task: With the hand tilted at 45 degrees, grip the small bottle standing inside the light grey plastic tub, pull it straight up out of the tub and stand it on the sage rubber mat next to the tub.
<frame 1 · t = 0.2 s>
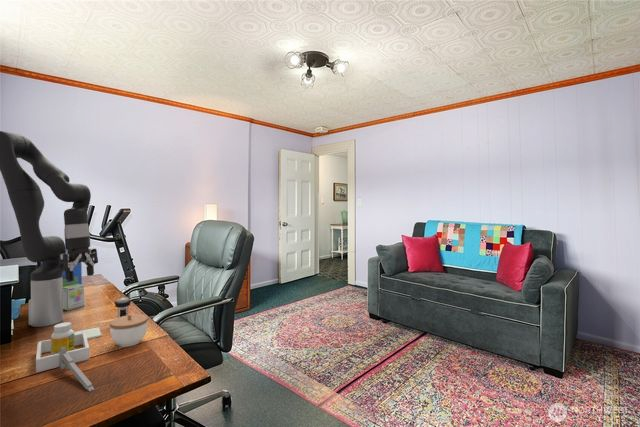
hand: (80, 278, 119), 18 cm above the table, tool pointing down, fingers open, 8 cm apart
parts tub: (63, 356, 94), on the table
ink box: (73, 308, 138), on the table
supplement bottle: (63, 356, 94), resting in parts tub
lidded jar: (129, 343, 103), on the table
string lights box: (62, 302, 145), on the table
caliper: (75, 379, 82), on the table
push button: (121, 325, 118), on the table
rubber mat: (84, 335, 108), on the table
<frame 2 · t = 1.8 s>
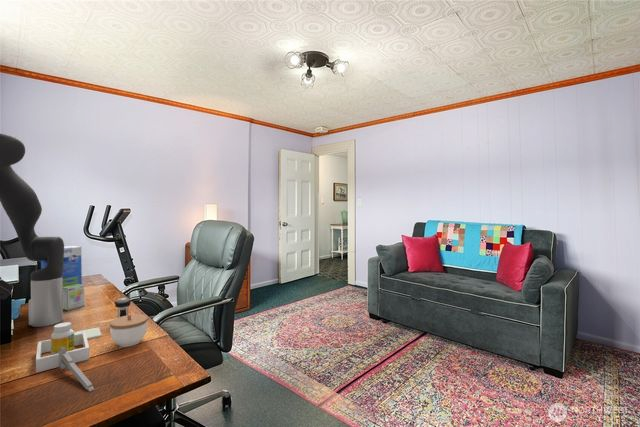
hand: (9, 293, 86), 21 cm above the table, tool tilted 45°, fingers open, 8 cm apart
nothing on the table moved.
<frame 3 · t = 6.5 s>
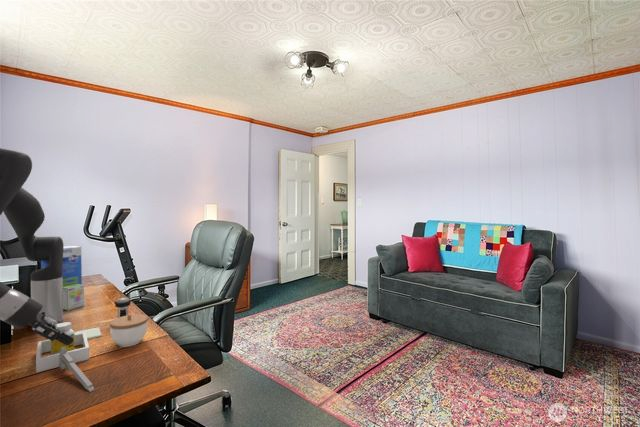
hand: (70, 338, 95), 5 cm above the table, tool tilted 45°, fingers closed on supplement bottle, 5 cm apart
supplement bottle: (63, 356, 94), resting in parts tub, touching gripper
everything else where it was.
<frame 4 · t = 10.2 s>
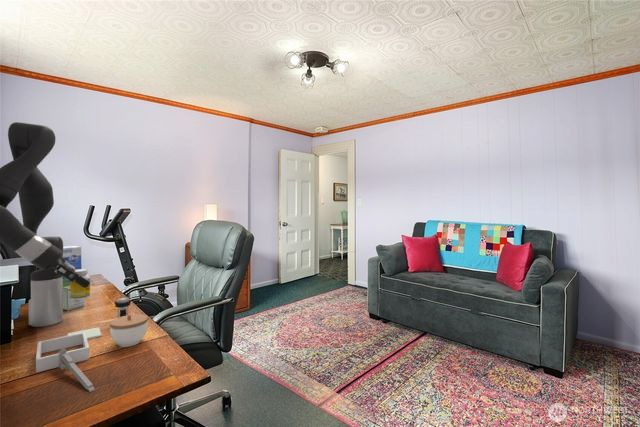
hand: (86, 283, 107), 19 cm above the table, tool tilted 45°, fingers closed on supplement bottle, 5 cm apart
supplement bottle: (80, 298, 106), point 14 cm above the table, touching gripper
everything else where it was.
when the fingers open (6 cm above the table, at t = 13.8 s): supplement bottle moves 1 cm, resting on rubber mat.
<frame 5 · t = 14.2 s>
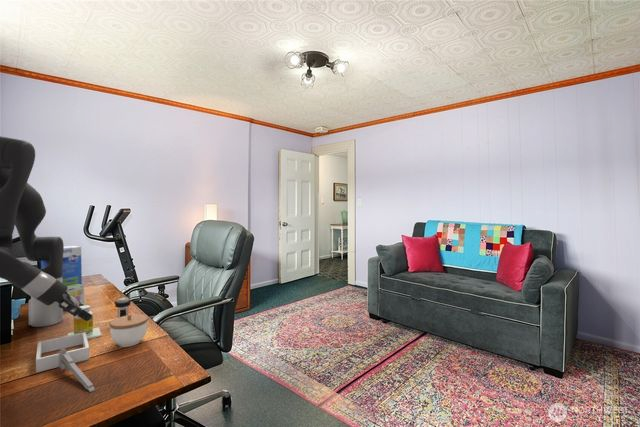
hand: (89, 315, 109), 7 cm above the table, tool tilted 45°, fingers open, 8 cm apart
supplement bottle: (83, 334, 108), resting on rubber mat
everything else where it was.
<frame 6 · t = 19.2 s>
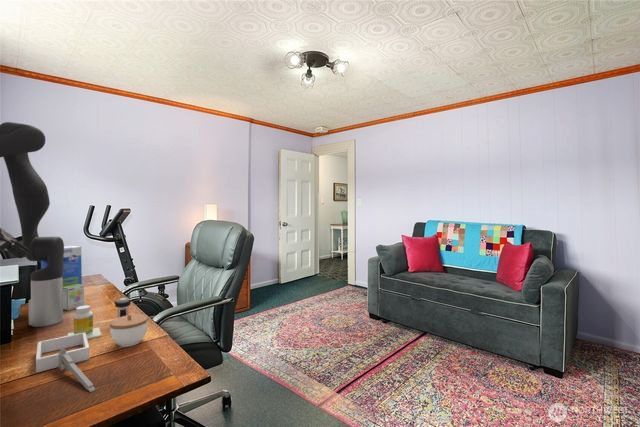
hand: (25, 254, 93), 31 cm above the table, tool tilted 45°, fingers open, 8 cm apart
nothing on the table moved.
at the end: supplement bottle 0.2 cm off-centre on the rubber mat, point 0.3 cm above the rubber mat's base; supplement bottle tilted 0°; supplement bottle touching rubber mat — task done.
